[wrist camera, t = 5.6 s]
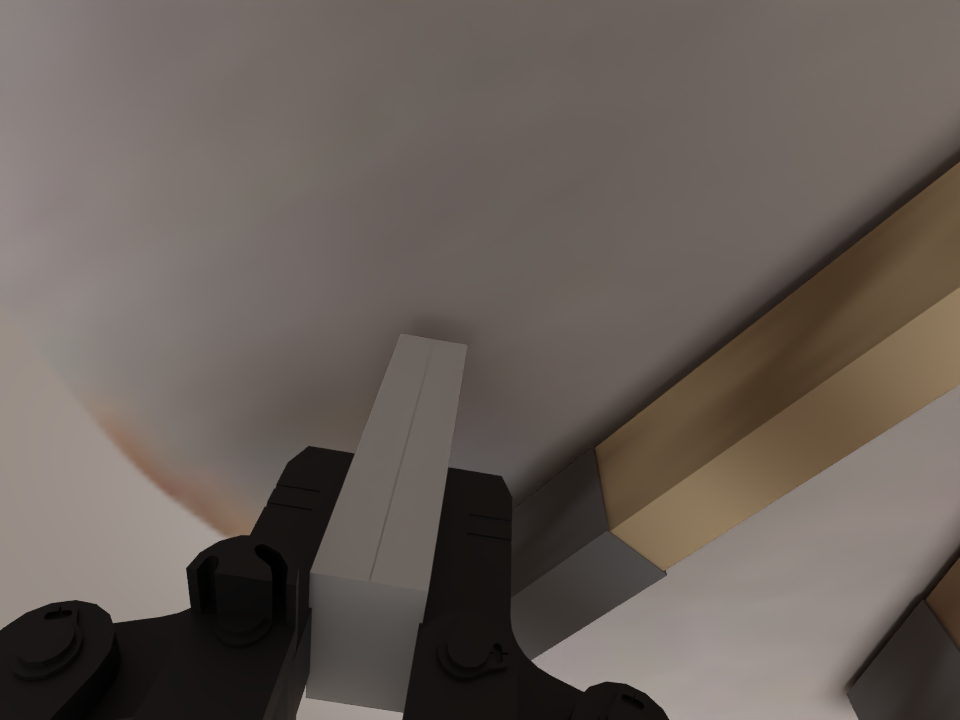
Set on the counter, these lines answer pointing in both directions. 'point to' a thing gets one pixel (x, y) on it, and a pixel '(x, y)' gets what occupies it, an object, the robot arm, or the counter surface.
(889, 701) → the base
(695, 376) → the tong arm
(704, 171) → the counter surface
